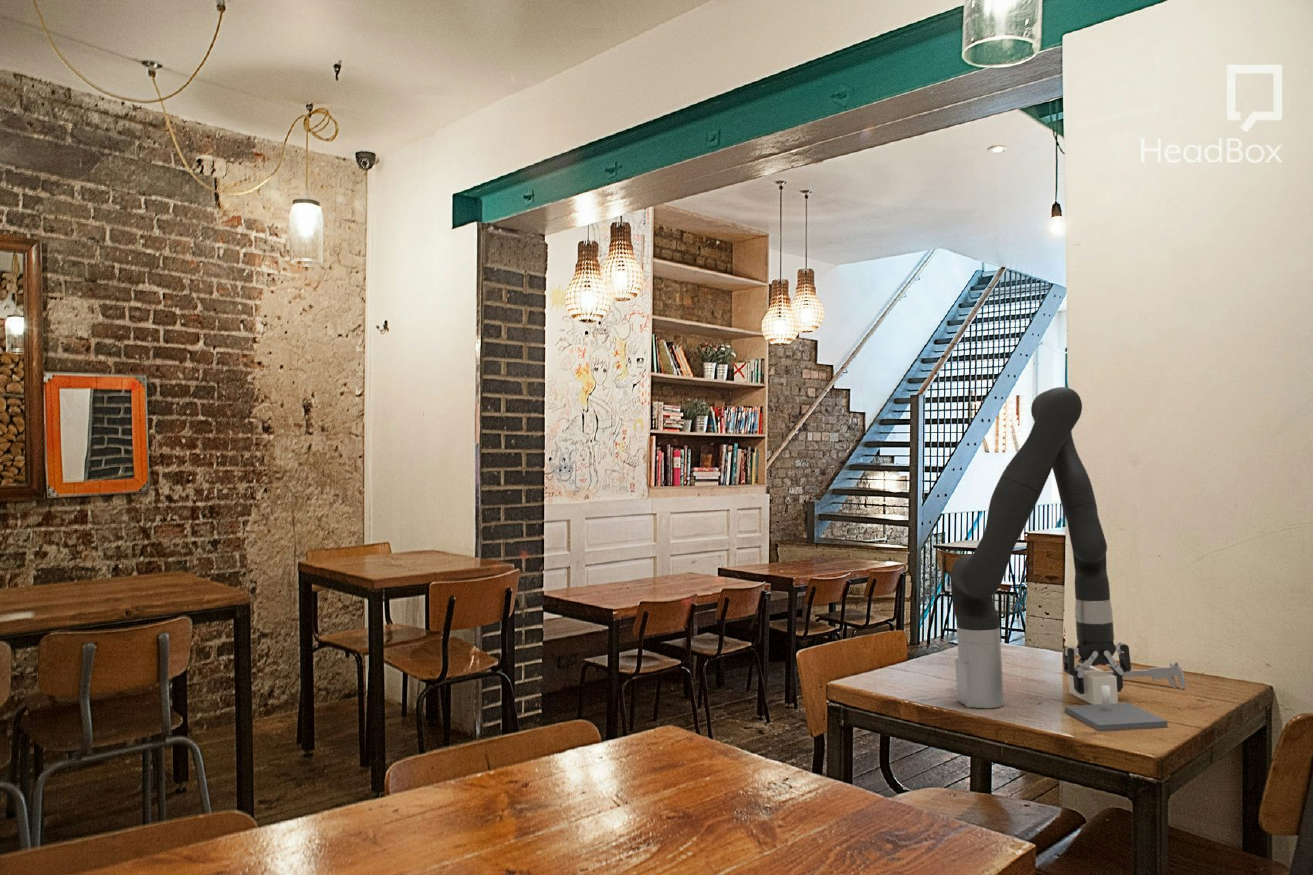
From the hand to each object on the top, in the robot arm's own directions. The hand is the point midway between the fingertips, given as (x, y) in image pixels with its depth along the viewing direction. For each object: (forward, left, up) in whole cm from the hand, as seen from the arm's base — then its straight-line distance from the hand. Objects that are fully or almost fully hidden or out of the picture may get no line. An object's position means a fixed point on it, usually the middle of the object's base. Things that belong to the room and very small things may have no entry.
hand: (1098, 692), depth 202 cm
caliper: (+17, +13, -2) cm, 22 cm away
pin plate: (-4, -14, -2) cm, 14 cm away
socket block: (0, +2, -2) cm, 3 cm away
